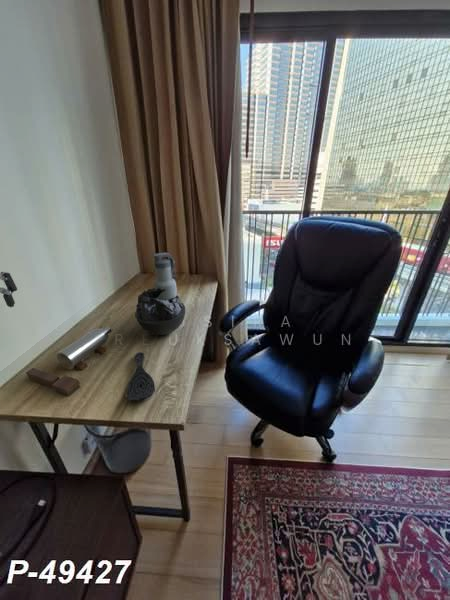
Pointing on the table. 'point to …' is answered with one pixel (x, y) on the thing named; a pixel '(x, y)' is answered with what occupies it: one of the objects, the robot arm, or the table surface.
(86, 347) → the steel bottle
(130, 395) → the hairbrush
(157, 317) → the bin with black bag
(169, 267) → the water bottle
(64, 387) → the scrub brush
